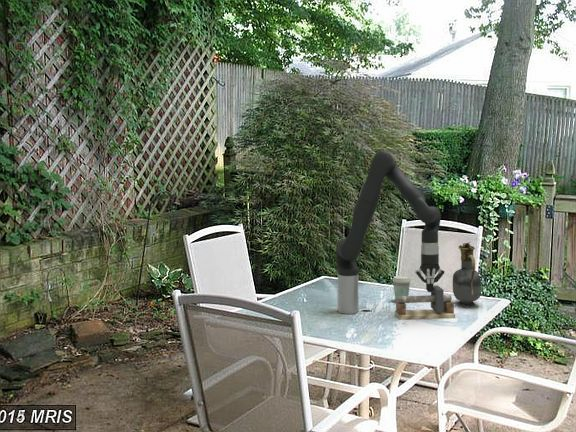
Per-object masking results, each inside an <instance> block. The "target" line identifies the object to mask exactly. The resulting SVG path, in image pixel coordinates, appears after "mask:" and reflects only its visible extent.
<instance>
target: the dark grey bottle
mask: <svg viewBox="0 0 576 432" xmlns="http://www.w3.org/2000/svg"><path fill="white" fill-rule="evenodd" d="M470 243H471V241H469V242H463V243H462V244H461V245H458V247H457V248H458V250H460V263H461V265H460V266H461V267H460V269H457V270H456V271H455V272H454V273H453V274H452V294H453V296H454V298H455V299H456V300H458V302H457V303H458V305H459V306H461V307H474V306H475V305H476V304H475V301H477V300H479V299H480V298H481V295H482V279H481V276H480V273H479V272H478V271H477V270H476V259H475V257H474V251H475V249H476V247H475V246H473V245H471V244H470Z"/></svg>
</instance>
